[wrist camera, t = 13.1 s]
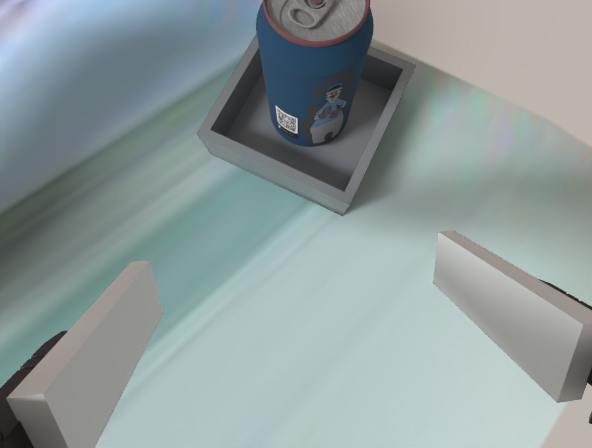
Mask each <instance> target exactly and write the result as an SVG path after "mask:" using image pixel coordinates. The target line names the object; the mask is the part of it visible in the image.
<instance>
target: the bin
mask: <svg viewBox="0 0 592 448" xmlns="http://www.w3.org/2000/svg"><path fill="white" fill-rule="evenodd" d="M415 66H416V65H414V64H412V63H409V62H407V61H404V60H402V59H399V58H397V57H395V56H392V55H390V54H387V53H385V52H382V51H380V50H378V49H375V48H373V47H370V46H369V49H368V53H367V56H366V59H365V63H364V66H363V70H362V73H361V76H360V80H359V83H358V86H357V90H356V93H355V96H354V100H353V103H352V106H351V110H350V113H349V116H348V120H347V123H346V125H345V127H344V129H343V130H342V131H341V133H340V134H339V135H338V136H337V137H336V138H334V139H333V140H332V141H330V142H328V143H326V144H323V145H320V146H315V147H304V146H299V145H296V144H293V143H291V142H289V141H287V140H286V139H285V138H283V137H282V136H281V135H280V134H279V133H278V132H277V130H276V129H275V127H274V125H273V123H272V120H271V115H270V110H269V104H268V98H267V92H266V86H265V80H264V74H263V68H262V62H261V56H260V50H259V44H258V38H257V34H256V36H255V37H254V39H253V41H252V42H251V44H250V46H249V47H248V49H247V51H246V52H245V54H244V56H243V57H242V59H241V61H240V62H239V64H238V66H237V67H236V69H235V71H234V72H233V74H232V76H231V77H230V79H229V81H228V82H227V84H226V86H225V87H224V89H223V91H222V92H221V94H220V96H219V97H218V99H217V101H216V102H215V104H214V106H213V107H212V109H211V111H210V112H209V114H208V116H207V117H206V119H205V121H204V122H203V124H202V126H201V127H200V129H199V131H198V132H197V135H198V137H199V138H200V139H201V141H202V142H203V144H204V145H205V147H206V148H207V149H208V151H209V152H210V154H212V155H214V156H216V157H219V158H221V159H223V160H225V161H227V162H229V163H231V164H233V165H236V166H238V167H240V168H242V169H244V170H246V171H248V172H250V173H252V174H255V175H257V176H259V177H261V178H263V179H265V180H267V181H269V182H272V183H274V184H276V185H278V186H280V187H282V188H284V189H286V190H289V191H291V192H293V193H295V194H297V195H299V196H301V197H303V198H305V199H308V200H310V201H312V202H314V203H316V204H318V205H320V206H322V207H325V208H327V209H329V210H331V211H333V212H335V213H337V214H339V215H342V216H343V215H344V213H345V212H346V210H347V209H348V207H349V206H350V204H351V202H352V199H353V197H354V195H355V193H356V191H357V189H358V187H359V185H360V182H361V180H362V178H363V176H364V174H365V172H366V170H367V168H368V166H369V163H370V161H371V159H372V157H373V155H374V153H375V151H376V149H377V147H378V144H379V142H380V140H381V138H382V136H383V134H384V132H385V130H386V127H387V125H388V123H389V121H390V119H391V117H392V115H393V113H394V111H395V108H396V106H397V104H398V102H399V100H400V98H401V96H402V94H403V92H404V89H405V87H406V85H407V83H408V81H409V79H410V77H411V75H412V72H413V70H414V68H415Z"/></svg>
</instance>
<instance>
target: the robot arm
mask: <svg viewBox="0 0 592 448" xmlns="http://www.w3.org/2000/svg"><path fill="white" fill-rule="evenodd" d="M433 284H434V285H435V286H436V287H437V288H438V289H439V290H440V291H441V292H442V293H443V294H445V295H446V296H447V297H448V298H449V299H450V300H451V301H452V302H453V303H454V304H455V305H456V306H457V307H458V308H459V309H460V310H461V311H462V312H463V313H464V314H465V315H466V316H467V317H468V318H469V319H471V320H472V321H473V322H474V323H475V324H476V325H477V326H478V327H479V328H480V329H481V330H482V331H483V332H484V333H485V334H486V335H487V336H488V337H489V338H490V339H491V340H492V341H493V342H494V343H495V344H497V345H498V346H499V347H500V348H501V349H502V350H503V351H504V352H505V353H506V354H507V355H508V356H509V357H510V358H511V359H512V360H513V361H514V362H515V363H516V364H517V365H518V366H519V367H520V368H521V369H523V370H524V371H525V372H526V373H527V374H528V375H529V376H530V377H531V378H532V379H533V380H534V381H535V382H536V383H537V384H538V385H539V386H540V387H541V388H542V389H543V390H544V391H545V392H546V393H547V394H549V395H550V396H551V397H552V398H553V399H554V400H555V401H556V402H557V403H559V402H566V401H572V400H578V399H582V395H583V393H584V390H585V388H586V385H587V382H588V383H589V384H590V385H591V386H592V307H591V306H589V305H588V304H586V303H584V302H582V301H579V300H578V299H577V298H575V297H574V296H572V295H570V294H566V292H565V291H563V290H561V289H559V288H558V287H556V286H554V285H552V284H550V283H548V282H545V281H542V280H540V279H537V278H535V277H533V276H532V275H530V274H528V273H526V272H525V271H523V270H521V269H519V268H518V267H516V266H514V265H513V264H511V263H509V262H507V261H506V260H504V259H502V258H500V257H499V256H497V255H495V254H494V253H492V252H490V251H488V250H487V249H485V248H483V247H482V246H480V245H478V244H476V243H475V242H473V241H471V240H469V239H468V238H466V237H464V236H463V235H461V234H459V233H457V232H456V231H447V232H439V236H438V245H437V253H436V262H435V270H434V279H433ZM162 315H163V310H162V306H161V302H160V298H159V294H158V290H157V286H156V282H155V278H154V274H153V270H152V266H151V262H150V260H145V261H134V262H131V263H130V264H129V265H128V266H127V267H126V268H125V269H124V271H123V272H122V273H121V274H120V275H119V276H118V277H117V278H116V279H115V280H114V281H113V283H112V284H111V285H110V286H109V287H108V288H107V289H106V290H105V291H104V292H103V293H102V295H101V296H100V297H99V298H98V299H97V300H96V301H95V302H94V303H93V304H92V305H91V307H90V308H89V309H88V310H87V311H86V312H85V313H84V314H83V315H82V316H81V317H80V319H79V320H78V321H77V322H76V323H75V324H74V325H73V326H72V327H71V328H70V329H69V331H62V332H60V333H59V334H57V335H56V336H54V337H53V338H51V339H50V340H48V341H47V342H45V343H44V344H43V345H42V346H41V347H40V348H39V349H38V350H37V351H36V352H35V353H34V354H33V355H32V356H31V357H32V358H31V359H28V361H27V362H26V363H25V364H24V365H23V366H22V367H21V369H20V370H19V371H17V372H16V373H15V374H14V375H13V376H12V377H11V378H10V379H9V380H8V381H7V382H6V383H5V384H4V385H3V386H2V387H1V388H0V448H95V446H96V444H97V442H98V440H99V438H100V436H101V434H102V432H103V430H104V428H105V427H106V425H107V423H108V421H109V419H110V417H111V415H112V413H113V411H114V409H115V407H116V405H117V403H118V401H119V399H120V397H121V395H122V393H123V391H124V389H125V387H126V385H127V383H128V381H129V379H130V378H131V376H132V374H133V372H134V370H135V368H136V366H137V364H138V362H139V360H140V358H141V356H142V354H143V352H144V350H145V348H146V346H147V344H148V342H149V340H150V338H151V336H152V334H153V332H154V331H155V329H156V327H157V325H158V323H159V321H160V319H161V317H162ZM589 423H590V424H592V413H591V415H590V417H589Z"/></svg>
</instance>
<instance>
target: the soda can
mask: <svg viewBox="0 0 592 448" xmlns="http://www.w3.org/2000/svg"><path fill="white" fill-rule="evenodd" d="M256 31H257V38H258V44H259V50H260V56H261V62H262V68H263V74H264V80H265V86H266V92H267V98H268V104H269V110H270V115H271V120H272V123H273V125H274V127H275V129H276V130H277V132H278V133H279V134H280V135H281V136H282V137H283V138H285V139H286V140H287V141H289V142H291V143H293V144H296V145H299V146H304V147H315V146H320V145H323V144H326V143H328V142H330V141H332V140H333V139H334V138H336V137H337V136H338V135H339V134H340V133H341V131H342V130H343V129H344V127H345V125H346V123H347V120H348V116H349V113H350V110H351V106H352V103H353V100H354V96H355V93H356V90H357V86H358V83H359V80H360V76H361V73H362V70H363V66H364V63H365V59H366V56H367V53H368V49H369V46H370V43H371V39H372V35H373V17H372V13H371V9H370V0H263V2H262V4H261V6H260V9H259V12H258V15H257V21H256Z"/></svg>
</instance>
